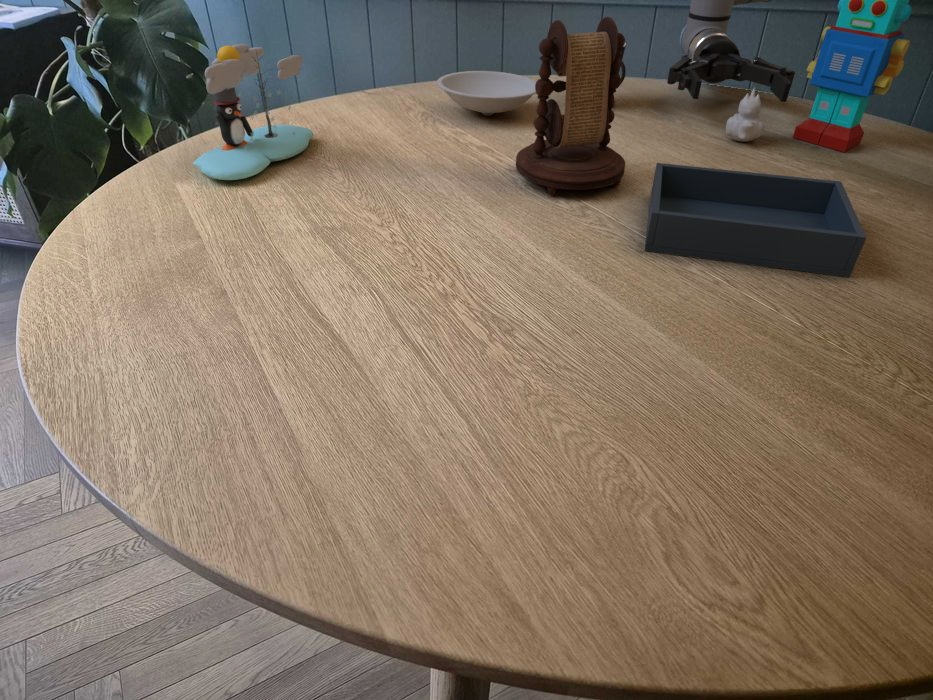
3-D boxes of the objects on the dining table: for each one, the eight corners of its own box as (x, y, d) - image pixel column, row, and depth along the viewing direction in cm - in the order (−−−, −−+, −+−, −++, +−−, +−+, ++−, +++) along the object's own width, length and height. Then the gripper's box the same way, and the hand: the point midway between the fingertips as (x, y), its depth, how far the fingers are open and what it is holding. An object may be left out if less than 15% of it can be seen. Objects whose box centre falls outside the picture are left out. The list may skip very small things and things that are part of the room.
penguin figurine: (237, 191, 87) (210, 71, 78) (179, 175, 91) (147, 59, 82) (330, 143, 101) (317, 36, 92) (277, 131, 105) (259, 27, 96)
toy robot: (782, 135, 105) (837, -48, 89) (800, 126, 108) (856, -51, 93) (855, 155, 98) (929, -38, 83) (872, 146, 101) (946, -42, 86)
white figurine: (758, 136, 104) (773, 83, 99) (760, 151, 99) (776, 96, 94) (722, 132, 105) (735, 80, 101) (722, 147, 100) (736, 93, 96)
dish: (422, 119, 110) (420, 88, 107) (458, 95, 120) (458, 66, 117) (521, 135, 104) (522, 102, 101) (550, 108, 114) (552, 78, 111)
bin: (827, 217, 82) (841, 181, 79) (849, 277, 71) (866, 237, 68) (649, 197, 86) (656, 162, 83) (644, 251, 75) (651, 212, 72)
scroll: (540, 207, 84) (554, 37, 72) (499, 163, 95) (505, 10, 83) (642, 192, 87) (672, 28, 75) (592, 152, 99) (610, 3, 86)
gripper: (777, 80, 121) (815, 118, 105) (640, 76, 123) (656, 113, 106) (790, 36, 117) (832, 68, 100) (647, 32, 118) (665, 64, 102)
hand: (741, 91), depth 103 cm, fingers open, 13 cm apart
